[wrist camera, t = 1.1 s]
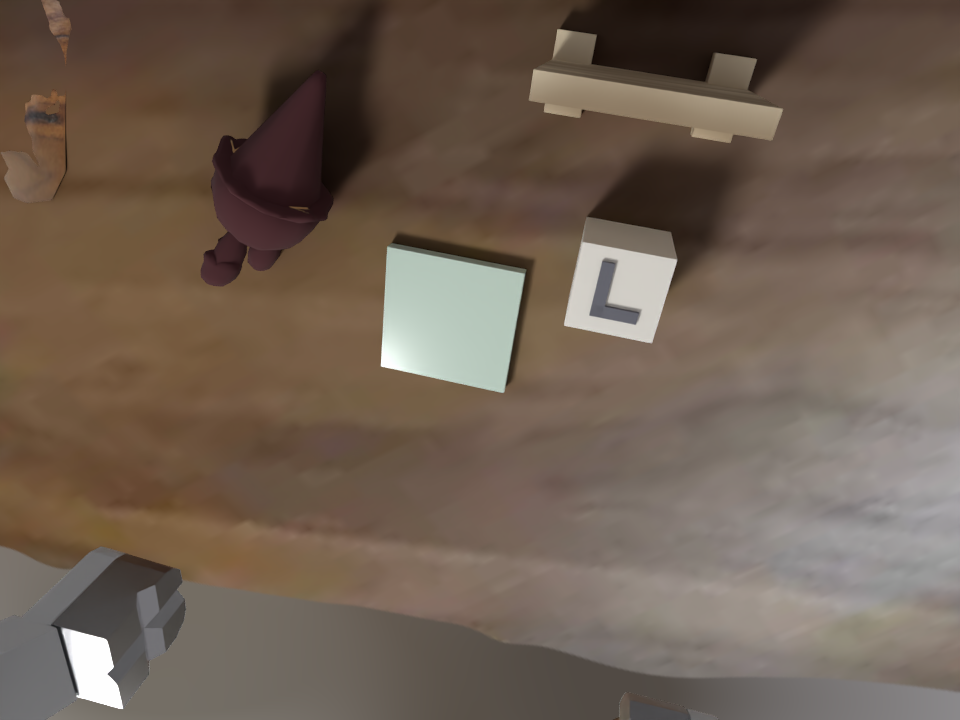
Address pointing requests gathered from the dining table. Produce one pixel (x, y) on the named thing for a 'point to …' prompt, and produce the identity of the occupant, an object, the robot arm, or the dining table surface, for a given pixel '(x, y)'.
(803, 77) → the dining table surface
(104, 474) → the dining table surface
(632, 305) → the letter cube
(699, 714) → the robot arm
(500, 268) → the green tile
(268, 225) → the maroon gnome figurine
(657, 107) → the oak screen
